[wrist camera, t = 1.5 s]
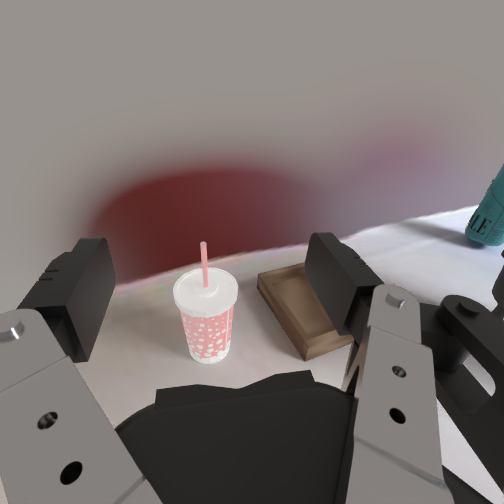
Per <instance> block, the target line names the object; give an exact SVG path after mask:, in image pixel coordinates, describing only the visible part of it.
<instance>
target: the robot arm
mask: <svg viewBox="0 0 504 504" xmlns="http://www.w3.org/2000/svg"><path fill="white" fill-rule="evenodd" d="M305 275H306V277H307V279H308V281H309V283H310V285H311V286H312V288H313V290H314V292H315V294H316V295H317V297H318V299H319V301H320V302H321V304H322V306H323V308H324V310H325V311H326V313H327V315H328V317H329V318H330V320H331V322H332V324H333V326H334V327H335V329H336V331H337V333H338V334H339V336H345V335H352V336H353V338H354V340H353V342H352V345H351V349H350V354H349V358H348V362H347V366H346V371H345V375H344V379H343V383H342V387H341V390H340V389H338V388H336V387H333V386H330V385H328V384H324V383H320V382H315V381H314V378H313V376H312V373H311V371H310V370H305V371H297V372H289V373H281V374H275V375H272V376H270V377H268V378H265V379H263V380H260V381H258V382H255V383H253V384H250V385H248V386H246V387H243V388H239V389H233V388H225V387H216V386H208V385H199V384H196V385H188V386H180V387H172V388H165V389H157V390H156V399H155V403H154V404H151V405H149V406H147V407H145V408H143V409H141V410H139V411H137V412H136V413H134V414H133V415H131V416H130V417H128V418H127V419H126V420H125V421H123V422H122V423H121V424H119V425H118V426H117V427H116V428H115V429H114V428H113V426H112V425H111V423H110V422H109V420H108V418H107V417H106V415H105V413H104V412H103V410H102V409H101V407H100V405H99V404H98V402H97V400H96V399H95V397H94V396H93V394H92V392H91V391H90V389H89V388H88V386H87V384H86V383H85V381H84V379H83V378H82V376H81V375H80V373H79V371H78V370H77V368H76V366H75V365H74V363H79V362H88V360H89V357H90V355H91V352H92V349H93V346H94V343H95V341H96V338H97V335H98V332H99V329H100V327H101V324H102V321H103V318H104V316H105V313H106V310H107V307H108V304H109V302H110V299H111V296H112V293H113V290H114V287H115V271H114V267H113V263H112V259H111V255H110V251H109V246H108V243H107V240H106V239H105V238H103V237H102V238H81V239H80V240H79V241H78V243H77V244H76V245H75V247H74V248H73V250H72V251H71V252H64V253H63V254H61V255H60V256H58V257H57V258H56V259H54V260H53V261H52V262H51V263H50V264H49V266H48V267H47V268H46V270H45V273H43V274H42V275H41V277H40V278H39V281H37V282H36V283H35V285H34V286H33V287H32V289H31V290H30V291H29V293H28V294H27V295H26V297H25V298H24V299H23V301H22V302H21V303H20V305H19V306H18V308H17V309H16V310H12V311H9V312H6V313H3V314H0V476H1V479H2V483H3V486H4V490H5V493H6V497H7V500H8V504H493V503H492V502H490V501H489V500H488V499H486V498H485V497H484V496H482V495H481V494H480V493H479V492H477V491H476V490H475V489H473V488H472V487H471V486H469V485H468V484H467V483H465V482H464V481H463V480H462V479H460V478H459V477H458V476H456V475H455V474H454V473H452V472H451V471H450V470H448V469H447V468H446V467H445V466H443V465H442V460H441V448H440V437H439V425H438V413H437V401H436V397H437V399H438V400H439V402H440V403H441V405H442V406H443V408H444V409H445V410H446V412H447V413H448V415H449V416H450V418H451V419H452V420H453V422H454V423H455V425H456V426H457V428H458V429H459V431H460V432H461V433H462V435H463V436H464V438H465V439H466V441H467V442H468V443H469V445H470V446H471V448H472V449H473V451H474V452H475V454H476V455H477V456H478V458H479V459H480V461H481V462H482V464H483V465H484V466H485V468H486V469H487V471H488V472H489V474H490V475H491V477H492V478H493V479H494V481H495V482H496V484H497V485H498V487H499V488H500V489H501V491H502V492H503V494H504V323H503V322H502V321H501V320H500V319H498V318H497V317H496V316H495V315H494V314H493V313H491V312H490V311H489V310H488V309H487V308H485V307H484V306H483V305H481V304H480V303H478V302H476V301H474V300H472V299H469V298H467V297H464V296H459V295H448V296H446V297H444V299H443V301H442V302H441V304H440V306H436V305H430V304H424V303H419V302H418V300H417V299H416V298H415V296H414V295H412V294H411V293H410V292H408V291H407V290H405V289H403V288H400V287H398V286H394V285H389V284H384V283H383V281H382V280H381V279H380V278H379V277H378V276H377V275H376V274H375V273H374V272H373V271H372V269H371V268H370V267H369V266H368V265H366V263H365V262H364V261H363V260H362V259H360V256H359V255H358V254H357V253H356V252H355V251H354V250H353V249H351V248H350V247H348V246H347V245H345V244H343V243H341V242H340V241H339V240H338V239H337V238H336V237H335V236H334V235H333V233H331V232H322V233H313V234H312V235H311V238H310V242H309V246H308V251H307V255H306V260H305ZM470 353H471V355H472V356H473V357H474V358H475V359H476V360H477V361H478V362H479V363H480V364H481V365H482V366H483V367H484V369H485V370H486V371H487V372H488V373H489V374H490V375H491V377H492V378H493V380H494V382H495V387H496V389H495V393H494V394H493V395H492V396H490V395H489V394H488V393H487V391H486V390H485V389H484V388H483V387H482V386H481V384H480V383H479V382H478V381H477V380H476V379H475V378H474V376H473V375H472V374H471V373H470V372H469V371H468V369H467V368H466V367H465V366H464V365H463V364H462V363H463V362H464V361H465V359H466V358H467V357H468V356H469V354H470Z"/></svg>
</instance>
